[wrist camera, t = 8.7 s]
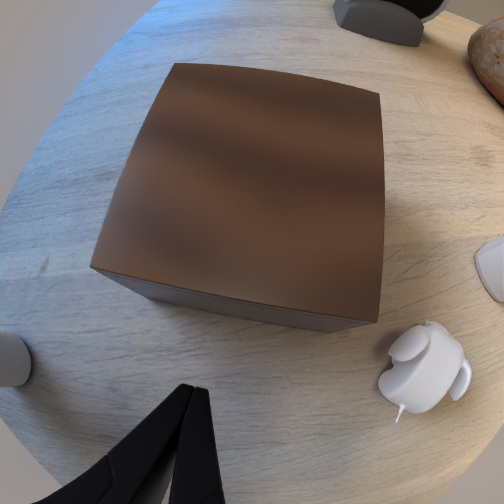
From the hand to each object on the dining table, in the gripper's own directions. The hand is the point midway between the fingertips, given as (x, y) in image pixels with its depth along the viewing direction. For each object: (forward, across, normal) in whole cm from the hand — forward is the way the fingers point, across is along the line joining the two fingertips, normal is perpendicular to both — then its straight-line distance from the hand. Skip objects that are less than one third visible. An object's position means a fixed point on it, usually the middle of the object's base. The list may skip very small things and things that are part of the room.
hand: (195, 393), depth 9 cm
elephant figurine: (+10, -13, +8) cm, 19 cm away
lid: (+11, 0, -4) cm, 12 cm away
